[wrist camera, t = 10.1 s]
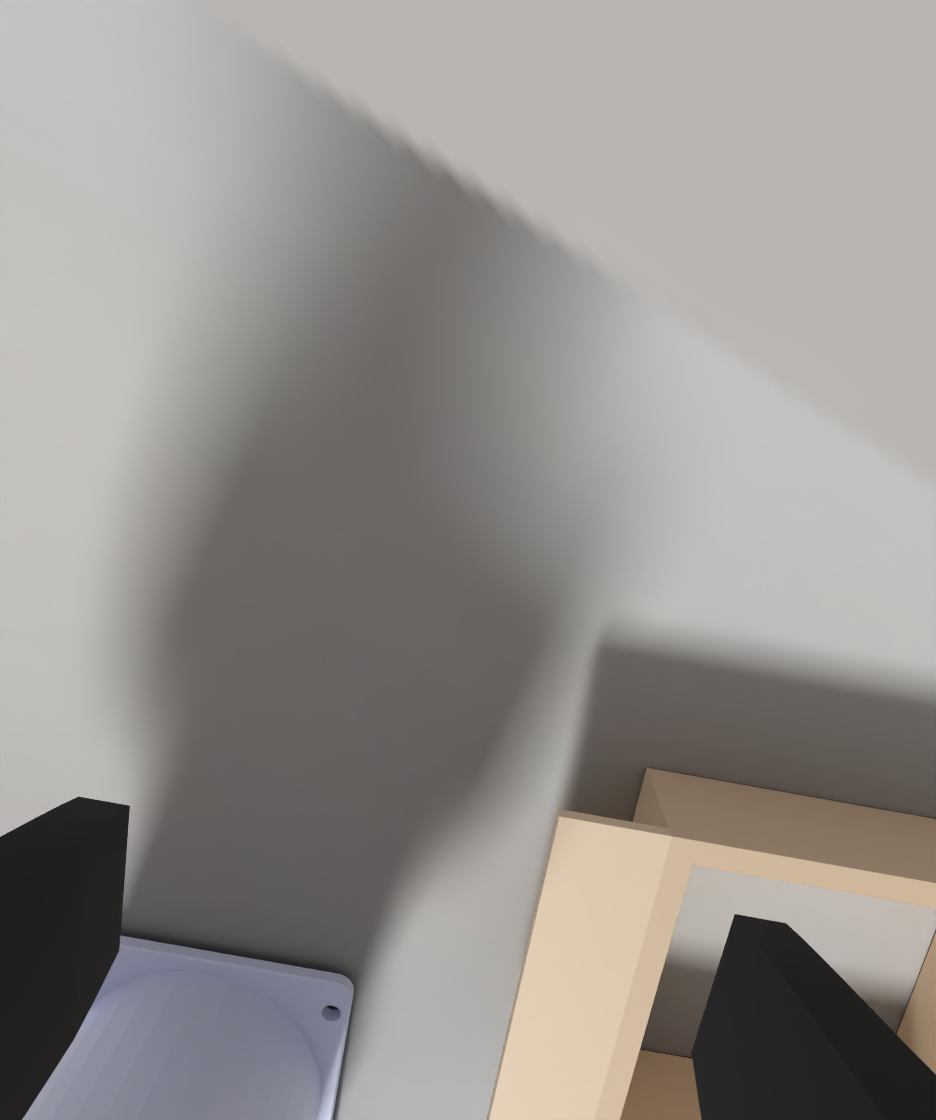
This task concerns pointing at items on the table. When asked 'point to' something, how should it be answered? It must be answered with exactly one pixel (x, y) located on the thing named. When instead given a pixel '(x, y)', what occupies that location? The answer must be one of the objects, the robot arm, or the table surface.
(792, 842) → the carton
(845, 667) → the table surface
